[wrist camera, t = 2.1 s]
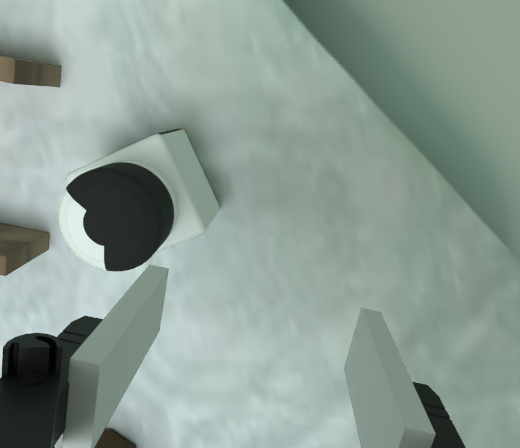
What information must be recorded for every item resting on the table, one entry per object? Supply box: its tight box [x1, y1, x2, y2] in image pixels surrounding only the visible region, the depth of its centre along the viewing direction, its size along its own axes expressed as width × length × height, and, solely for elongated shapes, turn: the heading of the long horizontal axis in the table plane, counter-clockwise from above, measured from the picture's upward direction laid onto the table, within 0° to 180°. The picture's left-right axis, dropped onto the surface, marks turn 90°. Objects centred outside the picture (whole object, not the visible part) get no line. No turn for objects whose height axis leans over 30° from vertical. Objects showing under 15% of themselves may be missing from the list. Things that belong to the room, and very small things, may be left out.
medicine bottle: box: [58, 128, 220, 271], centre depth 30 cm, size 7×7×12 cm
